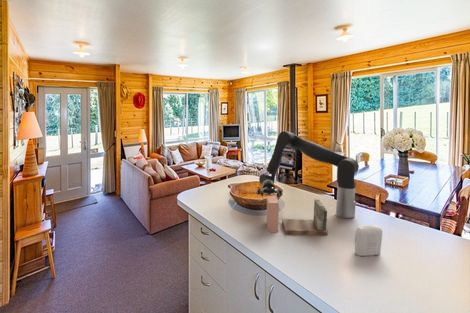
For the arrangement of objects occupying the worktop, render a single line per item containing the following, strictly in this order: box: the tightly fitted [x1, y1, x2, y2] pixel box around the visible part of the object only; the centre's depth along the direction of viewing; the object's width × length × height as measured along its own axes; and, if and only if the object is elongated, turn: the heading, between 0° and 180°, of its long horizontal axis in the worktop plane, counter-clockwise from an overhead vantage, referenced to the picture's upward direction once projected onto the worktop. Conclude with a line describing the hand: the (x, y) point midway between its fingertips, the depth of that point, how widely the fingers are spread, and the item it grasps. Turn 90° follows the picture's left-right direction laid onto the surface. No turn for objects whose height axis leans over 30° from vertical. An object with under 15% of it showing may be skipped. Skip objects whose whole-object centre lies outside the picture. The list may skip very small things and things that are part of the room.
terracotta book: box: [266, 195, 280, 233], centre depth 134 cm, size 5×11×15 cm, turn 176°
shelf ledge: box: [282, 198, 329, 236], centre depth 132 cm, size 20×14×14 cm
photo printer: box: [354, 224, 383, 257], centre depth 108 cm, size 10×4×12 cm, turn 98°
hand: (270, 195), depth 147 cm, fingers open, 8 cm apart
